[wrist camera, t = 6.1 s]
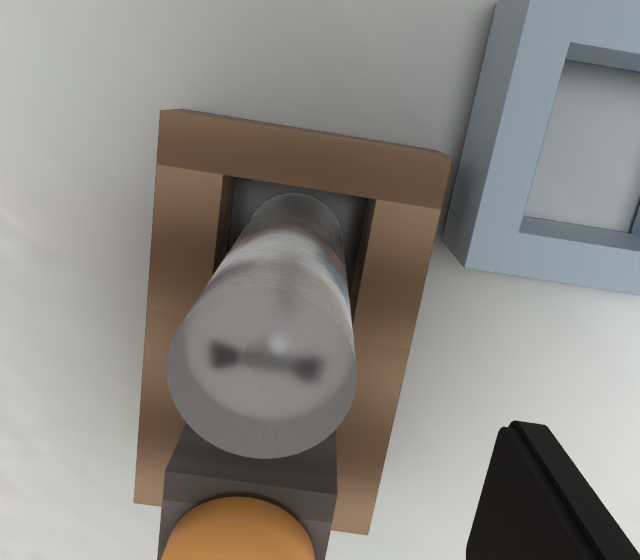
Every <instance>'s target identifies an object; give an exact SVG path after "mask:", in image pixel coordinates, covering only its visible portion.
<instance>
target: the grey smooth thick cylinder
mask: <svg viewBox="0 0 640 560" xmlns="http://www.w3.org/2000/svg"><path fill="white" fill-rule="evenodd" d="M167 380H168V386H169V390H170V394H171V397H172V399H173V401H174V404H175V406H176V408H177V410H178V411H179V413H180V414H181V416H182V418H183V419H184V420H185V421H186V423H187V424H188V425H189V426H190V427H191V428H192V429H193V430H194V431H195V432H196V433H197V434H198V435H200V436H201V437H202V438H204V439H205V440H206V441H208V442H209V443H211V444H213V445H214V446H216V447H218V448H220V449H223V450H225V451H227V452H230V453H233V454H236V455H240V456H245V457H250V458H260V459H270V458H280V457H287V456H291V455H294V454H298V453H300V452H303V451H305V450H308V449H310V448H312V447H314V446H315V445H317V444H319V443H320V442H322V441H323V440H324V439H326V438H327V437H328V436H329V435H330V434H332V433H333V432H334V431H335V430H336V429H337V427H338V426H339V425H340V424H341V422H342V421H343V420H344V418H345V416H346V415H347V413H348V411H349V409H350V407H351V404H352V402H353V399H354V395H355V391H356V384H357V367H356V357H355V348H354V339H353V330H352V321H351V311H350V302H349V293H348V284H347V275H346V265H345V256H344V247H343V238H342V231H341V227H340V224H339V222H338V220H337V218H336V216H335V215H334V213H333V212H332V211H331V210H330V208H329V207H328V206H326V205H325V204H324V203H323V202H321V201H320V200H318V199H316V198H314V197H312V196H309V195H306V194H302V193H285V194H280V195H277V196H275V197H272V198H270V199H269V200H267V201H265V202H264V203H263V204H262V205H261V206H259V208H258V209H257V210H256V211H255V212H254V214H253V215H252V217H251V218H250V220H249V221H248V223H247V224H246V226H245V227H244V229H243V231H242V232H241V234H240V235H239V237H238V238H237V240H236V241H235V243H234V244H233V246H232V247H231V249H230V250H229V252H228V254H227V255H226V257H225V258H224V260H223V261H222V263H221V264H220V266H219V267H218V269H217V270H216V272H215V273H214V275H213V277H212V278H211V280H210V281H209V283H208V284H207V286H206V287H205V289H204V290H203V292H202V293H201V295H200V296H199V298H198V299H197V301H196V303H195V304H194V306H193V307H192V309H191V310H190V312H189V313H188V315H187V316H186V318H185V319H184V321H183V322H182V324H181V326H180V327H179V329H178V330H177V332H176V334H175V336H174V338H173V340H172V343H171V346H170V349H169V353H168V359H167Z"/></svg>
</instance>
